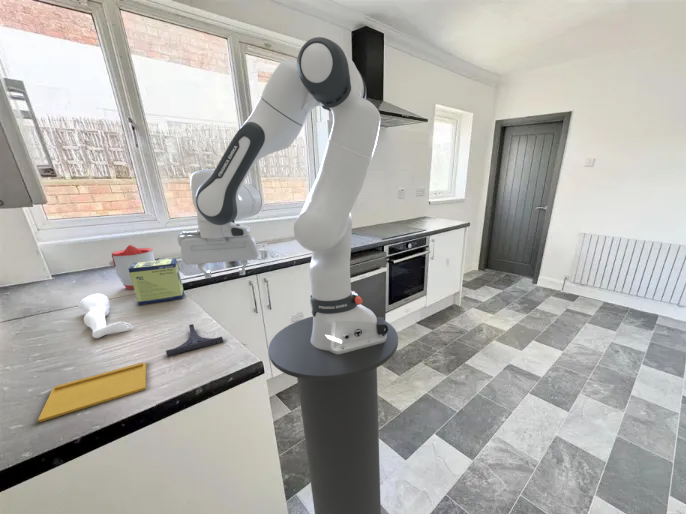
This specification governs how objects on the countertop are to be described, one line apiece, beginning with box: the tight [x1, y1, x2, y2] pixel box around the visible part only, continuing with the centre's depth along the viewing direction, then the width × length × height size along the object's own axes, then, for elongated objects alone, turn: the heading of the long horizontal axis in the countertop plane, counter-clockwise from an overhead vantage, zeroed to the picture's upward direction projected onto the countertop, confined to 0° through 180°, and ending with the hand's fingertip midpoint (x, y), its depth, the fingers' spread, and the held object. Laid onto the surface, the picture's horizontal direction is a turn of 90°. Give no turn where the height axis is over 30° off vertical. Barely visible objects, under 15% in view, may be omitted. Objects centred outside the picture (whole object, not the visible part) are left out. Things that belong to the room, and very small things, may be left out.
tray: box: [37, 362, 147, 423], centre depth 73 cm, size 18×13×1 cm
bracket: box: [165, 323, 224, 357], centre depth 96 cm, size 14×15×3 cm
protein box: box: [128, 258, 185, 306], centre depth 129 cm, size 10×16×16 cm
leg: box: [77, 293, 134, 339], centre depth 110 cm, size 7×35×10 cm
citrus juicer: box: [108, 244, 156, 291], centre depth 144 cm, size 16×17×20 cm
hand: (225, 276), depth 93 cm, fingers open, 8 cm apart
